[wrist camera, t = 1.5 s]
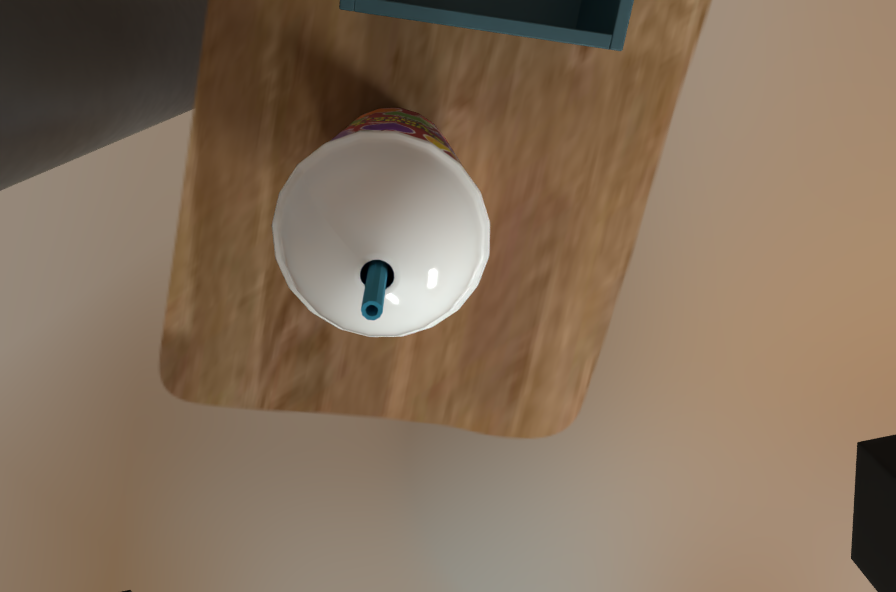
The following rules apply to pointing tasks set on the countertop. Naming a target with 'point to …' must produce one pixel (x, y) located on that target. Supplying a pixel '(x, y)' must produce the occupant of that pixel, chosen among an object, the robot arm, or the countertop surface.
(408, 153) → the smoothie
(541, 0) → the dark teal open box
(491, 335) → the countertop surface
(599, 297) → the countertop surface
